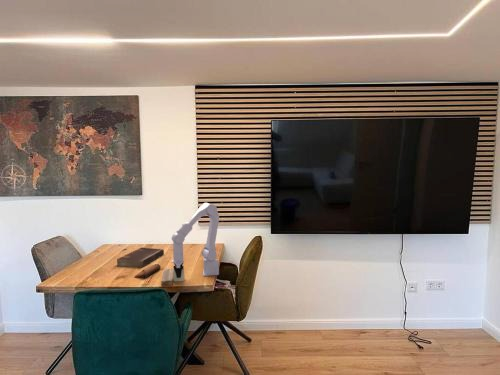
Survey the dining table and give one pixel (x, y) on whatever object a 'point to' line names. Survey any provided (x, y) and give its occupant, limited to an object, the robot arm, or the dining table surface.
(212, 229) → the robot arm
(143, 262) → the hardback book
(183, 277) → the block
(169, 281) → the tan rectangular bar
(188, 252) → the dining table surface
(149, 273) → the sunglasses case
